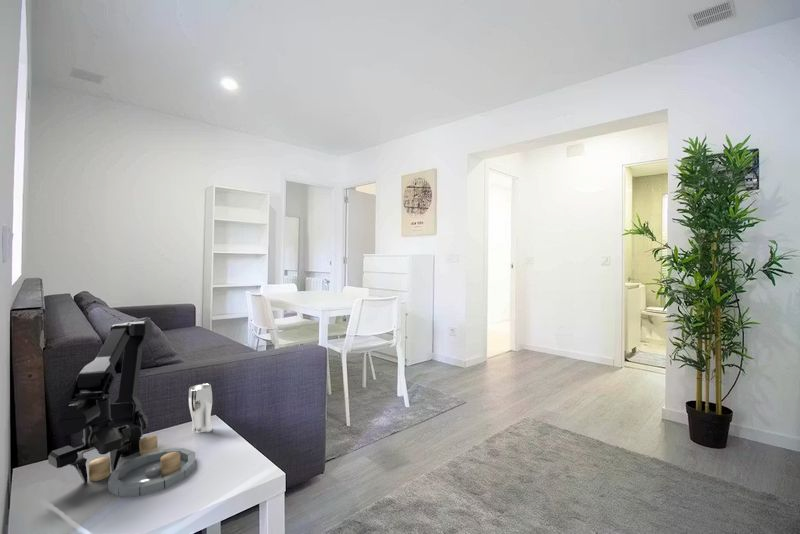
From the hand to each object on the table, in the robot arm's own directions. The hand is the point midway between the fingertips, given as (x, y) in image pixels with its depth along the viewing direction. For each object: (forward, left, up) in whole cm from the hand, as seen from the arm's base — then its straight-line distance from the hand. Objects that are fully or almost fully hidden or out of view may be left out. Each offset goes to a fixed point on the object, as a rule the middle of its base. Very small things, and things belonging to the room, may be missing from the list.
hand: (99, 476), depth 100 cm
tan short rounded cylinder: (+17, +9, 0) cm, 19 cm away
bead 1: (0, 0, -1) cm, 1 cm away
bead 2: (-2, +13, -1) cm, 13 cm away
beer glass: (-3, +30, -1) cm, 30 cm away
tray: (+12, +7, -1) cm, 14 cm away
